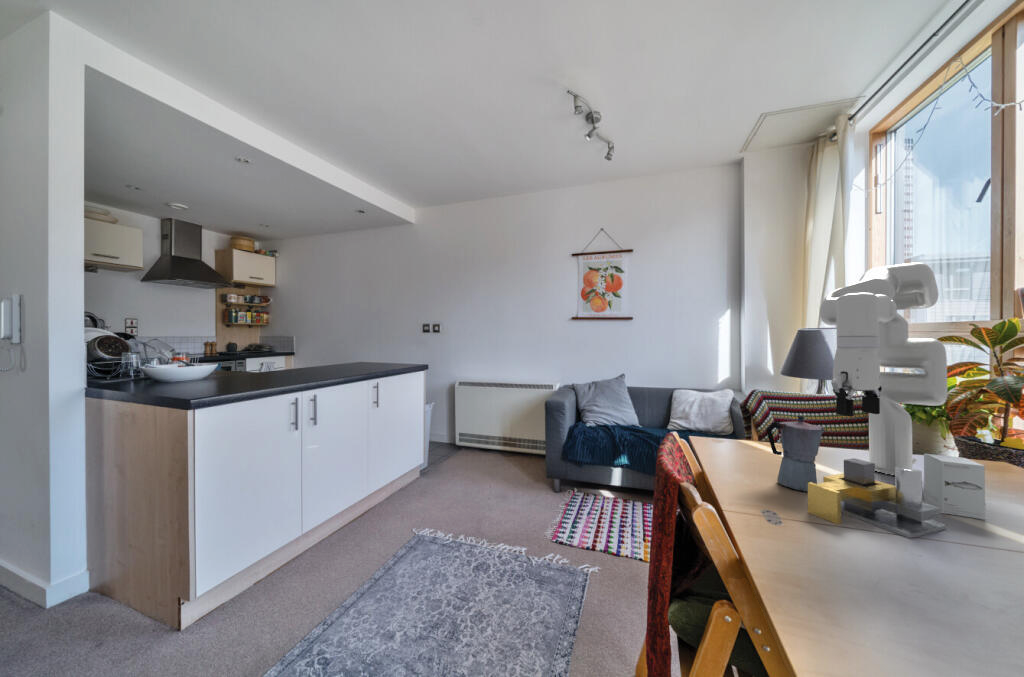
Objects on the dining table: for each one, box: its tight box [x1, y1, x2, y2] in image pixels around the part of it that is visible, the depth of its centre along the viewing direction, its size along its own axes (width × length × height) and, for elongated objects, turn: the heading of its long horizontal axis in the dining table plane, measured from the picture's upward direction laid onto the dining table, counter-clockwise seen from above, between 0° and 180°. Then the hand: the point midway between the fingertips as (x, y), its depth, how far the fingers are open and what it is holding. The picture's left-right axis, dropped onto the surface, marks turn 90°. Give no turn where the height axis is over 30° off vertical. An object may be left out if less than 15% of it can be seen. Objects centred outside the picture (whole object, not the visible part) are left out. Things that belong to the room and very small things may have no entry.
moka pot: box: [765, 415, 826, 493], centre depth 101 cm, size 10×15×20 cm, turn 89°
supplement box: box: [923, 453, 986, 521], centre depth 87 cm, size 7×7×13 cm
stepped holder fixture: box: [807, 467, 947, 539], centre depth 83 cm, size 21×16×12 cm
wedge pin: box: [843, 457, 876, 512], centre depth 87 cm, size 4×4×11 cm
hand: (858, 414), depth 87 cm, fingers open, 9 cm apart
